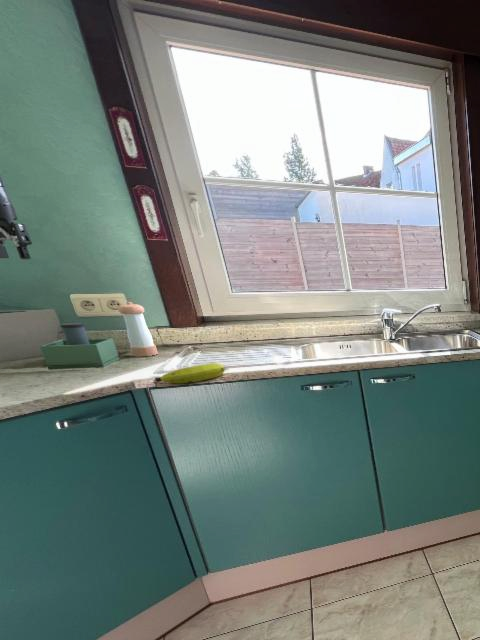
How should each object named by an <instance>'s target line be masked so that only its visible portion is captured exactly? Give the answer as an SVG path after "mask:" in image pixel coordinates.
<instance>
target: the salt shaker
mask: <svg viewBox="0 0 480 640" xmlns="http://www.w3.org/2000/svg"><path fill="white" fill-rule="evenodd" d="M145 310H146V309H145V308H144V307H143V306H142V305H140V304H136V303H133V302H132V301H127V302H126V304H121V305H119V306H118V312H119V313H120V314H122V316H123V319H124V320H123V321H124V322H125V326H126V333H127V340H128V342H129V344H130V346H129V349H130V352H131V356H132V357H133V356H135V357H134V358H143V357H142V356H148V357H153V356H152V355H155V356H157V355H156V354H158V355H159V352H158V349H157V345H156V344H155V343H154V340H153V336H152V334H151V332H150V329H149V327H148V326H147V322H146V319H145V316H144V313H145Z"/></svg>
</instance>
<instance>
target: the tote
mask: <svg viewBox="0 0 480 640" xmlns="http://www.w3.org/2000/svg"><path fill="white" fill-rule="evenodd" d="M88 340H89V343H90V345H68V344H67V341H66V339H59V340H55V341H53V342H49V343H46V344H43V345H40V346H39V349H40V351H41V354H42V356H43V359H44V362H45V365H46V366H47V370H49V371H51V370H52V371H53V370H69V369H70V370H71V369H72V370H73V369H74V370H76V369H94V368H95V369H96V368H106V367H107V366H110V365H111V364H113V363H116V362H118V361H120V360H121V359H120V356H119V353H118V351H117V350H118V349H117V347H116V344H115V341H114V338H112V337H111V338H88Z"/></svg>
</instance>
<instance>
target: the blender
mask: <svg viewBox="0 0 480 640" xmlns="http://www.w3.org/2000/svg"><path fill="white" fill-rule="evenodd" d="M59 327H60V329H61V330H62V333H63V336H64V338H65V339H64V340H66V341H67V344H68V345H90V343H89V340H88V339H89V338H88V334H87V332H86V329H85V324H84V322H65V323H64V322H63V323H59Z"/></svg>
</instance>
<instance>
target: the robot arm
mask: <svg viewBox="0 0 480 640" xmlns="http://www.w3.org/2000/svg"><path fill="white" fill-rule="evenodd" d="M17 220H18V215H17V212H16V210H15V207H14V204H13V202H12V199H11V197H10V194H9V193H8V191H7V189H6V187H5V183H4V181H3V178H2V175H1V174H0V259H9V258H10V255H9V253H8V251H7V248H6V246H5V242H6V241H7V240H8V241H11V242H12V243H13V244H14V245H15V246H16V247H15V248H16V251H17V253H18V256H19V258H20V260H31V259H32V258H31V255H30V253H29V248H28V246H31V245H32V244H33V243H32V239H31V237H30V235H29V231H28V230H27V228H26V225H25V224H24V223H17V222H16V223H15V221H17Z"/></svg>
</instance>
